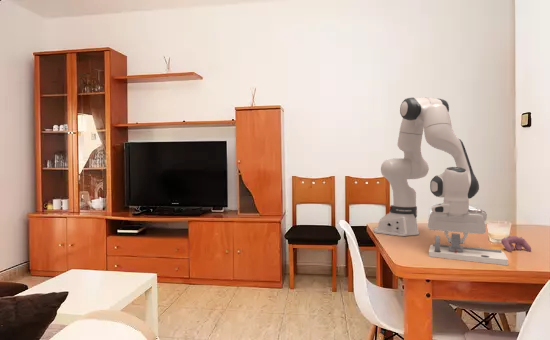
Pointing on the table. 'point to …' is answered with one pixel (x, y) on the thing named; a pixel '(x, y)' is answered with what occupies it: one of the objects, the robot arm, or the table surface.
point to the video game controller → (518, 243)
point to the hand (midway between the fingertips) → (455, 242)
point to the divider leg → (455, 243)
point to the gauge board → (468, 254)
